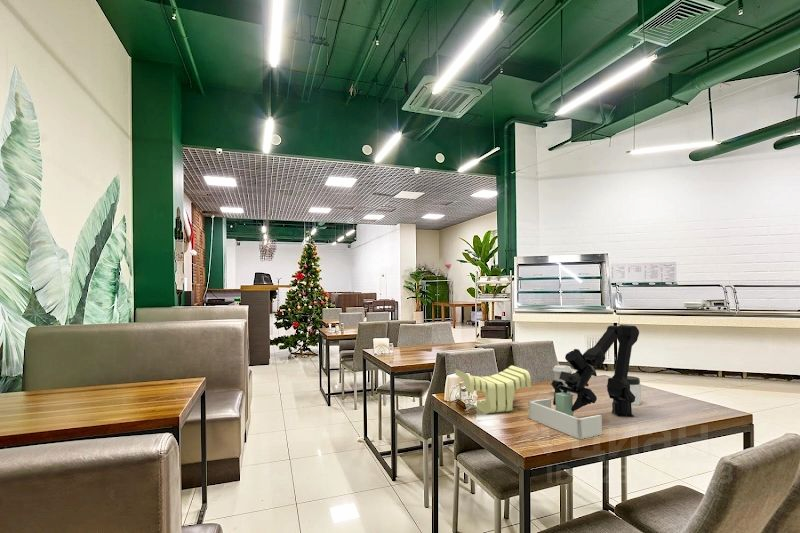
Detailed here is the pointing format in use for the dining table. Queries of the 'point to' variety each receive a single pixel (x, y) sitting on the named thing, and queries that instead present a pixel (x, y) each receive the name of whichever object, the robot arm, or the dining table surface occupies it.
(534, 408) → the cream u-shaped wall
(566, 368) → the coffee cup
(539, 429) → the dining table surface
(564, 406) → the block
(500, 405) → the slatted curved stool
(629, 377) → the jar
